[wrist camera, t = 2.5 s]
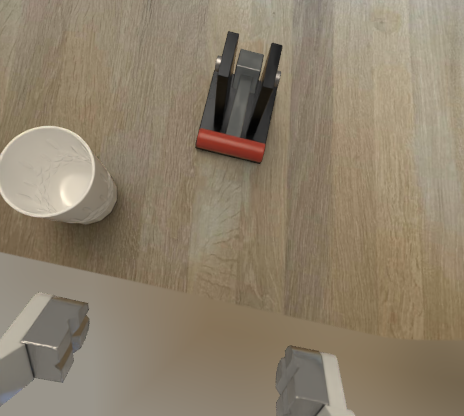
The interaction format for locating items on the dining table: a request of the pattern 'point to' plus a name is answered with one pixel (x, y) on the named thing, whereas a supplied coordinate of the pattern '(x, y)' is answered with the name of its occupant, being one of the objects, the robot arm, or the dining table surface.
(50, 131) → the white cup
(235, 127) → the power lever
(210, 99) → the switch bracket
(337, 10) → the dining table surface
